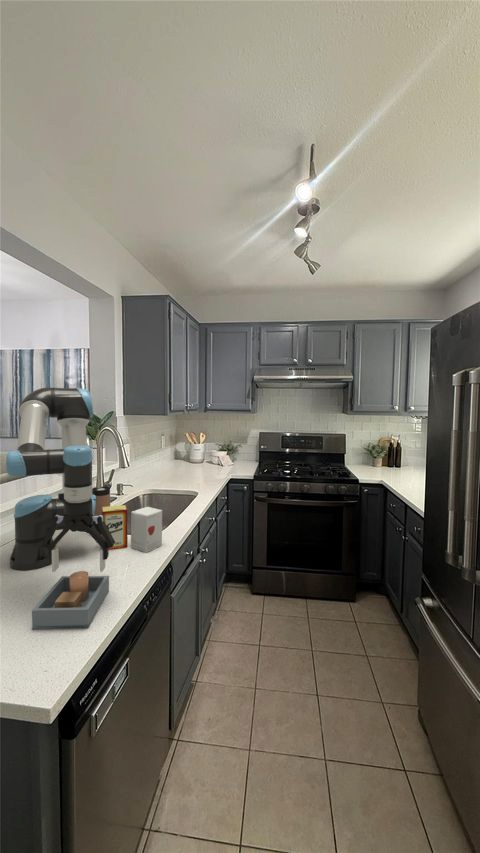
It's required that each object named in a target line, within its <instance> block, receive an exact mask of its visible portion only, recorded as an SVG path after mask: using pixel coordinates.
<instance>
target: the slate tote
mask: <svg viewBox="0 0 480 853" xmlns="http://www.w3.org/2000/svg"><path fill="white" fill-rule="evenodd" d="M88 583H89V598H88V599H87V600H85V601H83V602H82V607H81V608H55V601H56V600H57V599H58V597H59V596H60V595H61V594H62V593H63V592H70V575H69V576H68V575H65V576H64V575H63V576H61V577H60V578H59V579H58V580H57V582H55V584H54V585H53V586H52V587H51V588H50V589H49V590H48V591H47V593H46V594H45V595H44V596H43V597H42V598H41V599H40V601H39V602H38V603H37V604H36V605H35V606H34V607H33V609H32V610H31V626H32V627H31V629H32V630H57V629H58V630H59V629H60V630H61V629H63V630H67V629H89V627H90V626H91V624H92V622H93V621H94V619H95V618H96V615H97V613H98V611H99V610H100V608H101V606H102V605H103V603H104V601H105V599H106V597H107V596H108V594H109V592H110V575H88Z"/></svg>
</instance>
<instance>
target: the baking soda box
mask: <svg viewBox="0 0 480 853" xmlns="http://www.w3.org/2000/svg"><path fill="white" fill-rule="evenodd" d="M102 514H103V515H104V522H105V523H106V525H107V527H108V529H109V531H110V533H111V535H112V537H113V539H114V541H115V544H114V545H113V547H112V548H109V551H112V550H119V549H127V548H128V507H127V504H124V505H123V504H122V505H121V504H120V505H110V506H109V507H102ZM102 536H103V534H102ZM103 538H104V536H103ZM104 539H105V538H104Z"/></svg>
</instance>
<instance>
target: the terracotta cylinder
mask: <svg viewBox="0 0 480 853" xmlns="http://www.w3.org/2000/svg"><path fill="white" fill-rule="evenodd" d="M69 576H70V592H81V595H82V602H83V601H85V600H87V599H88V598H89V583H88V576H89V572H88V571H85V570H79V571H76V572H73V573H71V574H70V575H69Z"/></svg>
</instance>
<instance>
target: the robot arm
mask: <svg viewBox="0 0 480 853" xmlns="http://www.w3.org/2000/svg"><path fill="white" fill-rule="evenodd" d="M93 406H94V405H93V400H92V396H91V393H90V391H89V390H88V389H86V388H78V387H74V388H73V387H50V386H49V387H47V386H46V387H41V388H39V389H35V390H34V391H32V392H30V393H28V394H27V395H26V396H25V397H24V398H23V399H22V401H21V403H20V404H19V408H18V415H19V417H20V423H19V424H20V425H19V432H18V438H17V445H16V449H15V450H11V451H8V452H7V453H6V460H5V462H6V463H5V464H6V465H5V467H6V473H7V475H8V476H9V477H30V476H31V477H32V476H44V475H60V474H62V478H61V479H62V488H61V489H60V491H59V492H58V493H57V496H58V497H56V498H53V496H52V495H51V494H37V495H33V496H28V497H26V498H23V499H21V500H19V501H17V503H16V504H15V505H14V515H13V518H14V541H15V542H14V545H13V549H12V551H11V554H10V558H9V567H10V568H11V569H13V570H16V571H17V570H18V571H29V570H36V569H39V568H43V567H46V566H48V565H51V572H52V573H55V572H57V570H58V569H59V568H60V565H59V564H60V562H59V561H60V560H59V552H60V551H59V546H56V545H58V543H59V542H60V541H61V540H62V538H64V536H66V534H67V533H68V532H69V531H71V532H72V533H73V532H79V533H81V532H82V533H83V532H86V533H87V534H89V536H91V537H92V539H93V540H94V541H95V542H96V544H98V545H99V546H100V550H99V572H101V573H103V572H104V570H105V569H106V560H107V559H109V556H110V555H109V554H110V553H109V551H110V550H109V548H112V547H113V545H114V544H115V541H114V539H113V537H112V535H111V533H110V531H109V529H108V527H107V525H106V523H105V522H104V515H103V514H101V515H100V516H94V514H95V506H96V496H95V495H92V488H93V450H92V447H90V445H89V446H88V445H87V437H86V436H87V434H86V433H87V432H86V431H87V430H86V429H87V428H86V427H87V425H88V424H89V423H90V419H91V418H93V417H94V407H93ZM48 418H50V419H51V418H53V419H55V418H56V423H57V424H59V425H60V427H61V448H60V449H57V448H56V449H53V448H52V449H46V445H45V444H46V422H47V419H48ZM93 521H95V522H96V524H98V527H99V529H100V531H101V533H102V534H103V536H104V538H105V539H104V538H103V536H102V535H101V534H100V533H99V532H98V531H97V530H96V529H95V526H94V525H93V524H92V523H93ZM56 531H60V532H59V534H58V535H57V536H56V537H55V538H54V539H53V536H54V535H55V533H56Z"/></svg>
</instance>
